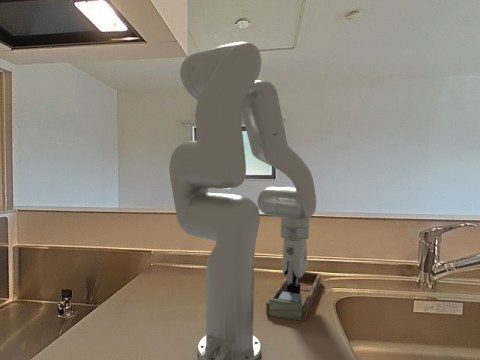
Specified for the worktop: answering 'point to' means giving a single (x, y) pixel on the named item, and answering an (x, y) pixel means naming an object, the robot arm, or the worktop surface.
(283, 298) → the block
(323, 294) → the worktop surface
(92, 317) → the worktop surface
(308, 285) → the open box
